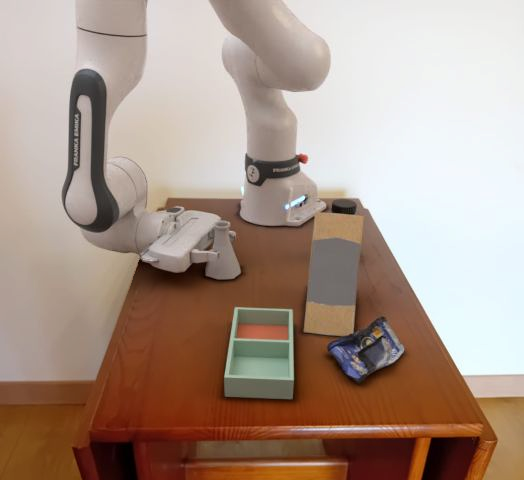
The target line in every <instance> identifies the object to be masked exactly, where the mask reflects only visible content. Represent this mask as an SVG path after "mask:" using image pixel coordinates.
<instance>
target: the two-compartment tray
mask: <svg viewBox="0 0 524 480" xmlns="http://www.w3.org/2000/svg"><path fill="white" fill-rule="evenodd" d="M230 329H231V330H230V335H229V343H228V349H227V356H226V363H225V370H224V375H223V385H224V388H223V389H224V397H225V398H246V399H247V398H250V399H252V398H253V399H273V400H293V398H294V397H293V396H294V387H295V386H294V385H295V366H294V365H295V364H294V363H295V360H294V358H295V357H294V310H293V309H290V308H269V307H268V308H266V307H239V306H234V309H233V316H232V323H231V328H230Z"/></svg>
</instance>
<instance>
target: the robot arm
mask: <svg viewBox="0 0 524 480" xmlns="http://www.w3.org/2000/svg"><path fill="white" fill-rule="evenodd" d="M148 1H149V0H75V29H76V53H75V54H76V56H75V67H74V74H73V78H72V81H71V86H70V91H69V102H68V103H69V104H68V105H69V106H68V138H67V139H68V141H67V142H68V144H67V145H68V147H67V148H68V149H67V172H66V175H65V176H66V177H65V179H64V182H63V185H62V189H61V203H62V206H63V210H64V211H65V213H66V215H67V217H68V218H69V220H70V221H71V222H72V223H73V224H74V225H76V226H77V227H79V228H80V232H81V234H82V237H83V238H84V239H85V241H87V242H88V243H90V244H91V245H92V246H94V247H96V248H100V249H103V250H106V251H109V252H114V253H120V254H136V255H138V256H139V259H140V260H141V261H142V262H143V263H148V264H150V265H151V266H152V267H153V268H156V269H160V270H163V271H166V272H171V273H175V274H179V273H184V272H186V271H187V270H188V269H189V268H190V266H191V265H192V264H193V263H194V264H199V263H200V264H201V263H207V262H208V261H209V262H216V261H217V260H218V259H219V251H218V250H212V248H210V249H209V250H206V249H207V248H208V247H209V246H210V245H211V244H212V243H214V239H215V229H214V223H215V222H216V221H222V217H220V216H219V215H218V214H215V213H211V212H205V211H201V210H194V209H193V210H186V209H185V207H183V206H177V205H176V206H173V207H171V208H168V209H164V210H158V211H148V210H147V205H148V180H147V177H146V175H145V172H144V171H143V169H142V168H141V167H140V166H139V165H138V164H137V163H136V162H135V161H133V160H132V159H131V158H128V157H125V156H114V157H112V158H111V159H108V152H109V151H108V149H109V147H108V146H109V131H110V125H111V122H112V118H113V117H114V115H115V112H116V111H117V109H118V108H119V106H120V105H121V104H122V102H123V101H124V100H125V99H126V97H128V95H129V94H130V93H131V92H132V91H133V90H134V89H135V88H137V86H138V85H139V83H140V82H141V81H142V79H143V77H144V74H145V69H146V64H147V59H148V13H147V7H148ZM207 1H208V3H209V4H210V6H211V7H212V9H213V11H214V13H215V15H216V16H217V18H218V19H219V21H220V23H221V25H222V26H223V27H224V29H225V30H226V31H227V34H226V35H225V37H224V39H223V42H222V45H221V61H222V65H223V67H224V69H225V71H226V72H227V74H228V75H229V76H230V77H231V78H232V80H233V82H234V84H235V86H236V88H237V90H238V94H239V96H240V99H241V101H242V105H243V110H244V114H245V121H246V122H245V123H246V153H245V155H244V172H245V176H244V182H243V186H241V188H240V190H241V194H242V200H240V205H239V207H240V211H239V216H240V217H241V218H242V219H243V220H244V221H246V222H249V223H251V224H254V225H258V226H268V227H276V226H277V227H278V226H287V227H300V226H301V225H303V224H304V223H306V222H308V221H309V220H310V219H312V218H313V217H314V218H315V213H316V212H323V211H324V210H325V209H327V203H326V202H325V201H323V200H322V199H320V198H318V186H317V183H316V182H315V181H314V180H313V179H312V178H311V177H310V176H308V175H307V174H306V173H305V172H304V171H303V170H301V166H300V163H301V164H302V165H306V164H307V163H308V162H309V156H308V155H307V154H303V153H299V154H297V141H298V124H299V123H298V119H297V115H296V114H295V112H294V111H293V110H292V109H291V108H290V107H289V105H288V104H287V102H286V100H285V97H284V94H283V91H286V92H291V93H305V92H313V91H316V90H318V89H320V88H321V86H322V85H323V84H324V83H325V82H326V80H327V78H328V76H329V73H330V69H331V65H332V56H331V49H330V46H329V45H328V42H327V41H326V40H325V39H324V38H323V37H322V36H321V35H318V34H317V33H315V32H314V31H312V29H310V28H308V26H306V24H304V23H303V22H302V21H301V20H300V19H299V18H298V16H297V15H296V14H294V12H293V11H292V9H291V8H289V7H288V5H287V4H286V3H285V2H284V0H207ZM229 237H230V242H231V244H232V243H235V241H236V239H237V233H236V232H235V231H234V230H233V231H232V230H229Z"/></svg>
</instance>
